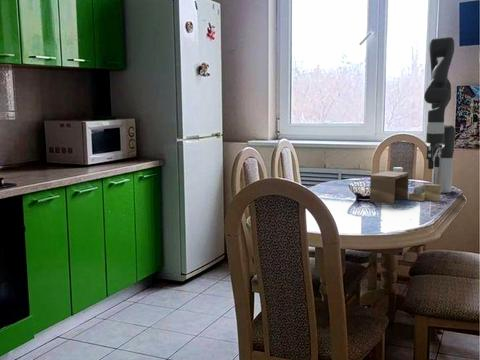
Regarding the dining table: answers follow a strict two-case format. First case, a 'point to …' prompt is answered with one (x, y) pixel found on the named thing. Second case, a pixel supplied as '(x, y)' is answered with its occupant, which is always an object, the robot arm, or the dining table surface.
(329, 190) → the dining table surface
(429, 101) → the robot arm
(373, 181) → the brown cardboard box
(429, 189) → the tray
